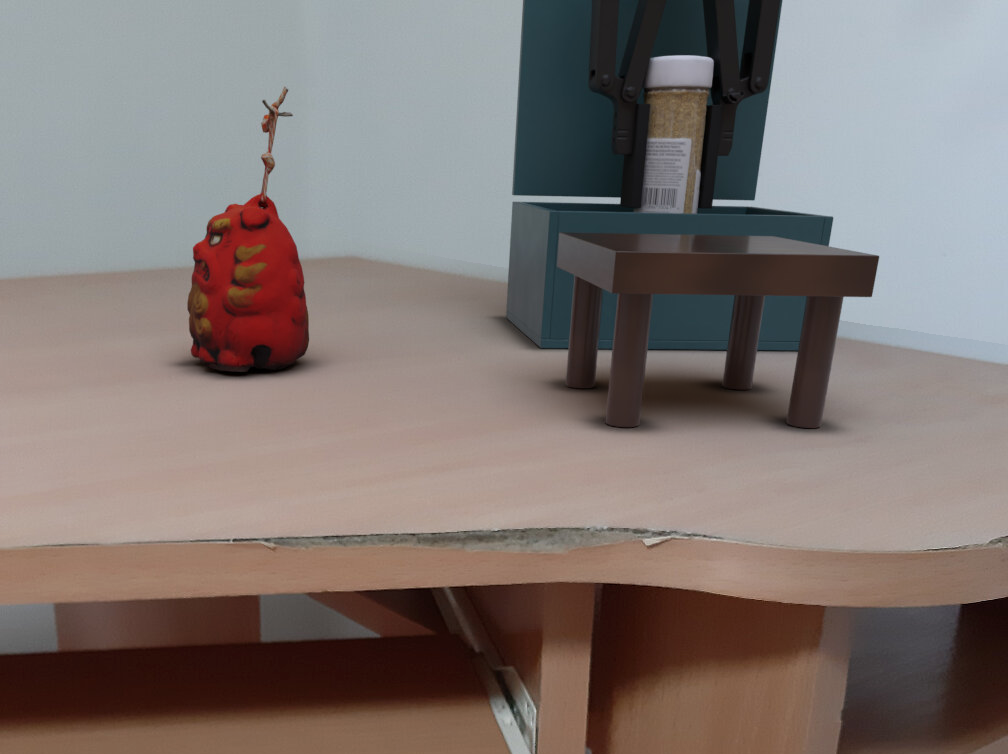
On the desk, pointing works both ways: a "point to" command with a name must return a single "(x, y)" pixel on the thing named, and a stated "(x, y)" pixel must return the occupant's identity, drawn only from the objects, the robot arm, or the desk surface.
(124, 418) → the desk surface
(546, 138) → the chest lid
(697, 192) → the tan spice jar
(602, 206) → the chest
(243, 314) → the red clay folk toy
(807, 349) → the stool
